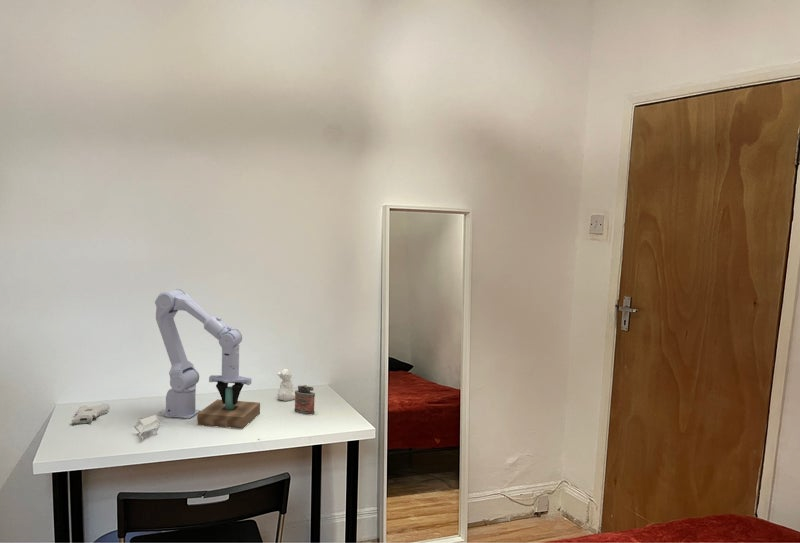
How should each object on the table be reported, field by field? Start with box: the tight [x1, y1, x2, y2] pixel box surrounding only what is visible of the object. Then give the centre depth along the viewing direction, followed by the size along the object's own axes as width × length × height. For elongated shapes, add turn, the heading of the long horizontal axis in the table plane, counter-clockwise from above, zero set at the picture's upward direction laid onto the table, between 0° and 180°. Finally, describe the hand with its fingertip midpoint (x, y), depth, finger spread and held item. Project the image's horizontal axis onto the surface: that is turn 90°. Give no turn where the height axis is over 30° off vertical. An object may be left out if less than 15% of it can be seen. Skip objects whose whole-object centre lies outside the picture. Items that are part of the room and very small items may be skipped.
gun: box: [71, 402, 110, 425], centre depth 206 cm, size 18×4×10 cm
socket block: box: [196, 398, 261, 429], centre depth 208 cm, size 16×16×4 cm
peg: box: [225, 385, 235, 411], centre depth 207 cm, size 3×3×8 cm
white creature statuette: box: [276, 368, 295, 402], centre depth 233 cm, size 10×9×12 cm
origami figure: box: [132, 414, 162, 442], centre depth 190 cm, size 12×8×5 cm
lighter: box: [293, 384, 316, 415], centre depth 218 cm, size 8×3×10 cm, turn 68°
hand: (229, 403), depth 207 cm, fingers closed on peg, 3 cm apart
